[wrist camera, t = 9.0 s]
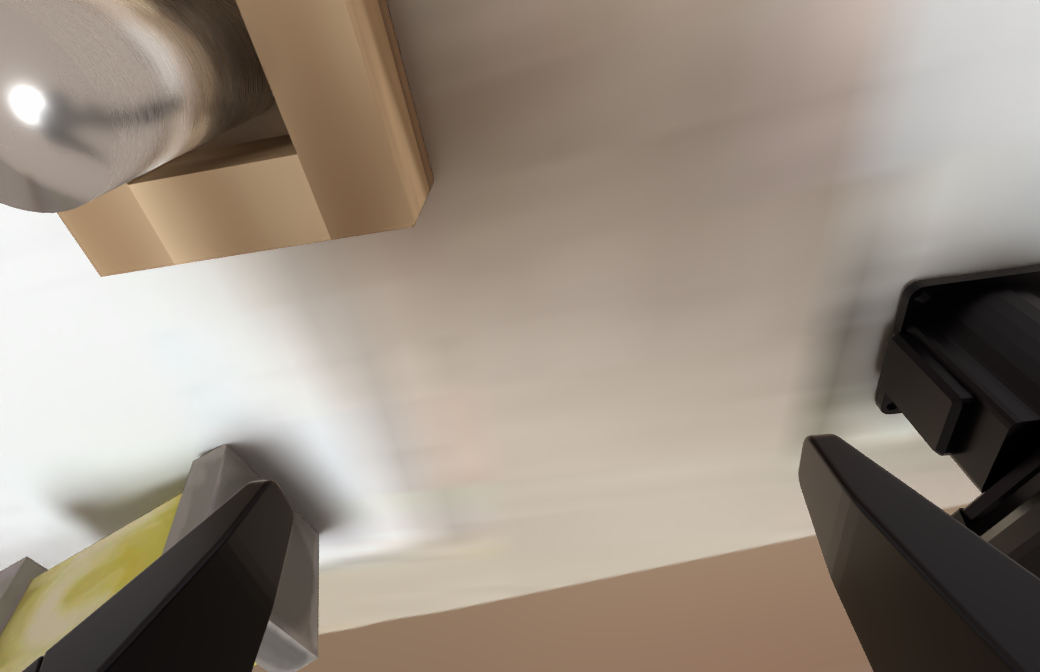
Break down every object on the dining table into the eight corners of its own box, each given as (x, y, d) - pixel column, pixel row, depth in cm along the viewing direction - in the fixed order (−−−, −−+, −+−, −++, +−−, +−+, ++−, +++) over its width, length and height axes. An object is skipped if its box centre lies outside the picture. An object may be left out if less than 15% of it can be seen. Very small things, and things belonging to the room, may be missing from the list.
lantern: (248, 357, 35) (-202, 609, 33) (195, 563, 20) (-626, 1044, 18) (319, 437, 39) (-78, 667, 36) (318, 657, 24) (-343, 1061, 22)
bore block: (328, -215, 13) (262, -273, 10) (434, 180, 19) (413, 226, 16) (-27, -123, 14) (-191, -148, 11) (171, 225, 20) (100, 276, 17)
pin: (249, -32, 15) (18, -41, 8) (302, 107, 17) (153, 194, 10) (129, -3, 15) (-186, 12, 8) (195, 130, 17) (-19, 227, 10)
